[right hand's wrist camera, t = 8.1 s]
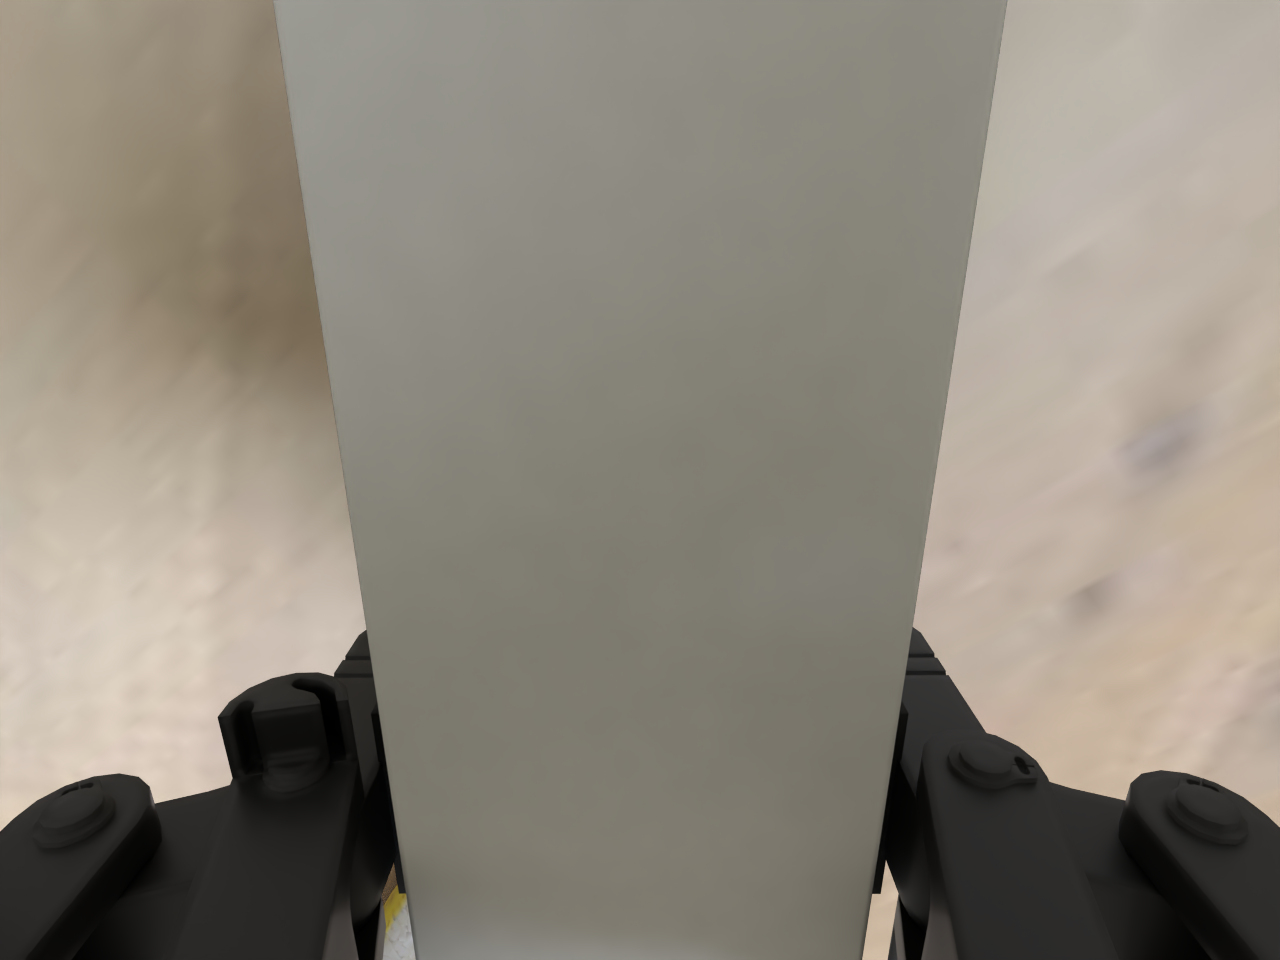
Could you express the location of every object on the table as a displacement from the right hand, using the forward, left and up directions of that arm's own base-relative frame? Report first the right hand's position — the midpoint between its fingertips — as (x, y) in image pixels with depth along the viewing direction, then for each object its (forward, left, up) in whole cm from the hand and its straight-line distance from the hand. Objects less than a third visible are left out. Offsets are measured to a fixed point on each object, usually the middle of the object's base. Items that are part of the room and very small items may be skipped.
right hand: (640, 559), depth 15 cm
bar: (+22, -5, -1) cm, 23 cm away
